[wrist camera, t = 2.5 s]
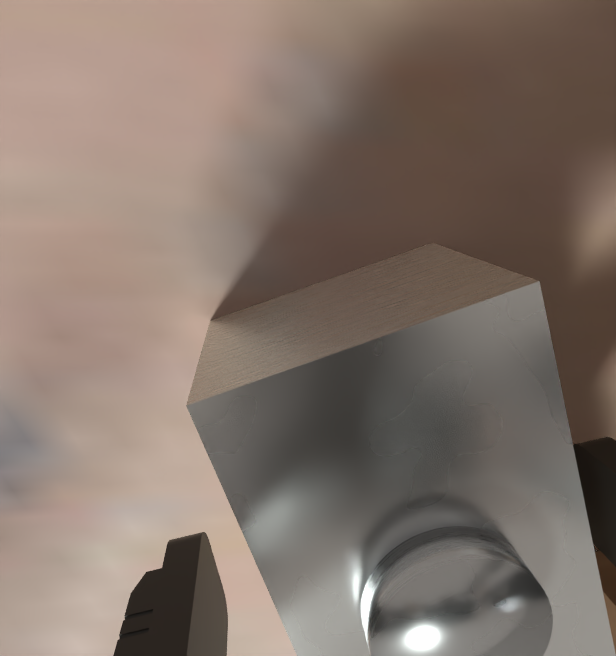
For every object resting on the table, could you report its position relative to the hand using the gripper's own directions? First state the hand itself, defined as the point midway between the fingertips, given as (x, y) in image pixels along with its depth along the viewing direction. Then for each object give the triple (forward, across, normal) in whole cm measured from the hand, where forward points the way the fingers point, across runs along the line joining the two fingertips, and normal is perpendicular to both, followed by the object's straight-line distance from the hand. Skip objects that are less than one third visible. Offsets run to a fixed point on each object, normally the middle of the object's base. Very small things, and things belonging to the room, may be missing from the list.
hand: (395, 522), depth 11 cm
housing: (+3, 0, 0) cm, 3 cm away
